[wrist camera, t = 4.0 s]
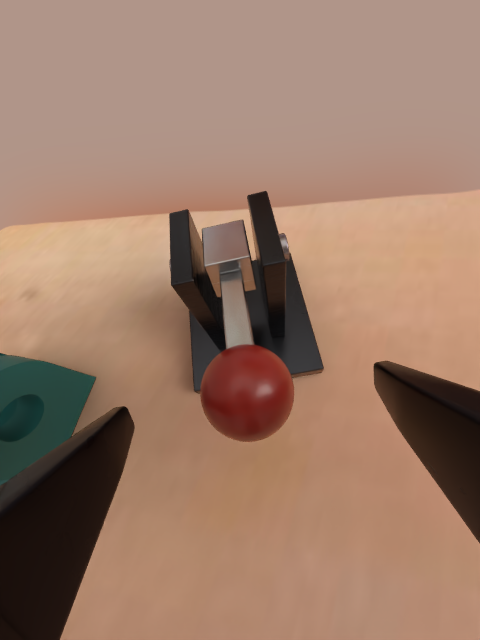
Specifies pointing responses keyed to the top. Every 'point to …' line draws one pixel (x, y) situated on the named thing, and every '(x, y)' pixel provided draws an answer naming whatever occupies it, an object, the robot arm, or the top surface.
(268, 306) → the bracket
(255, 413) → the lever
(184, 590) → the top surface
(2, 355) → the bracket
